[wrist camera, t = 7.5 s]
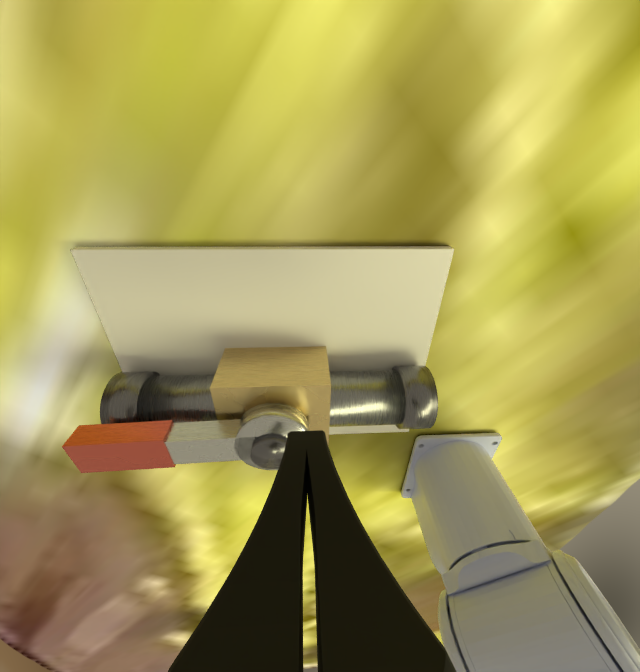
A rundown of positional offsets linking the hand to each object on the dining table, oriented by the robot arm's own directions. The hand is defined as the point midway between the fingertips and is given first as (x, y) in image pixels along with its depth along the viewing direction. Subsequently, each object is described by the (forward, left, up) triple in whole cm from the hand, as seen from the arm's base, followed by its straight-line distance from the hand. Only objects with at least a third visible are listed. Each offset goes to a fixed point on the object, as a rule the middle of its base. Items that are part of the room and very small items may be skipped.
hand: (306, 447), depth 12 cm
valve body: (-5, +2, -10) cm, 12 cm away
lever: (-5, +7, -5) cm, 10 cm away
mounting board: (-3, +2, -10) cm, 11 cm away
